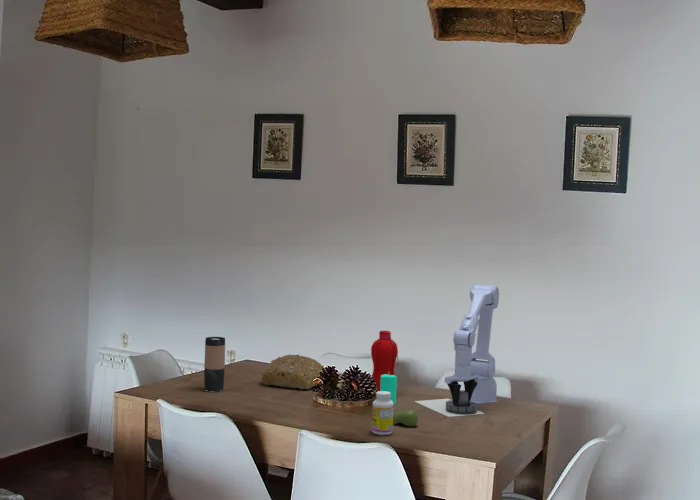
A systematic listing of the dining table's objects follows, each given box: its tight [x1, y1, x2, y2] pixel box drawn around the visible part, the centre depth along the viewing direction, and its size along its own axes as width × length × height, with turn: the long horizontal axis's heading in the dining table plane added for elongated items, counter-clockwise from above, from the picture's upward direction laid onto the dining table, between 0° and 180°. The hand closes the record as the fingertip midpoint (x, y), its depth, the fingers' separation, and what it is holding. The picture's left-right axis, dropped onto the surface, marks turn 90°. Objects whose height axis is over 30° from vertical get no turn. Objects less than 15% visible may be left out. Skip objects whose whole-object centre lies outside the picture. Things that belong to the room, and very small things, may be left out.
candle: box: [380, 374, 398, 405], centre depth 289 cm, size 6×6×12 cm
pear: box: [393, 409, 419, 428], centre depth 261 cm, size 6×5×10 cm
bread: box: [260, 354, 325, 390], centre depth 318 cm, size 24×21×12 cm
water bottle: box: [370, 330, 399, 394], centre depth 302 cm, size 9×11×25 cm
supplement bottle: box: [371, 391, 395, 436], centre depth 250 cm, size 7×7×13 cm
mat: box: [414, 398, 486, 418], centre depth 287 cm, size 15×24×1 cm, turn 25°
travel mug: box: [203, 336, 226, 391], centre depth 303 cm, size 8×8×20 cm
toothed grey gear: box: [446, 399, 478, 416], centre depth 282 cm, size 11×11×3 cm
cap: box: [454, 389, 468, 406], centre depth 282 cm, size 5×5×5 cm
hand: (461, 401), depth 282 cm, fingers closed on cap, 5 cm apart
